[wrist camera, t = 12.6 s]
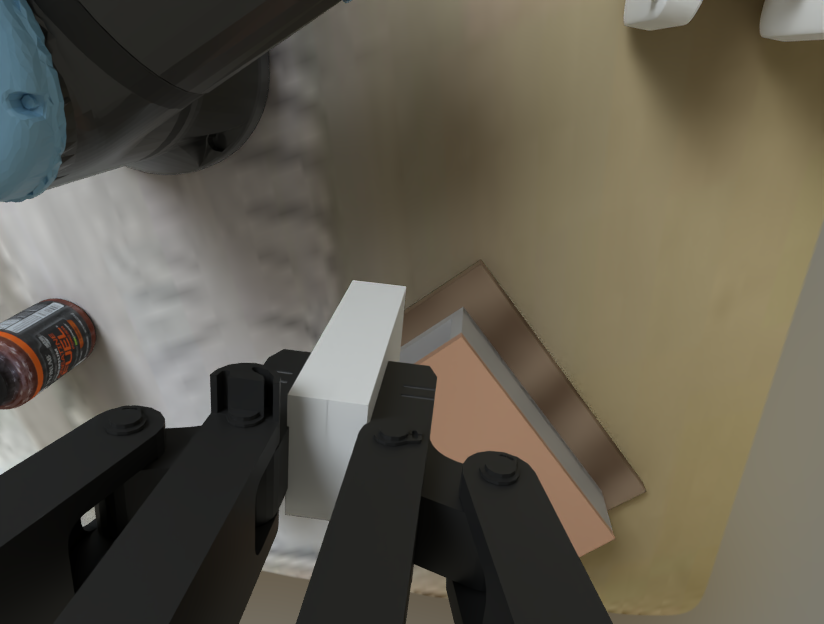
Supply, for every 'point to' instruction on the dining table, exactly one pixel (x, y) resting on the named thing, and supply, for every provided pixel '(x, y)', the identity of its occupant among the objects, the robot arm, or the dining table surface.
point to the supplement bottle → (41, 348)
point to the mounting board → (530, 373)
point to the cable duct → (513, 387)
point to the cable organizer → (780, 19)
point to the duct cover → (503, 436)
